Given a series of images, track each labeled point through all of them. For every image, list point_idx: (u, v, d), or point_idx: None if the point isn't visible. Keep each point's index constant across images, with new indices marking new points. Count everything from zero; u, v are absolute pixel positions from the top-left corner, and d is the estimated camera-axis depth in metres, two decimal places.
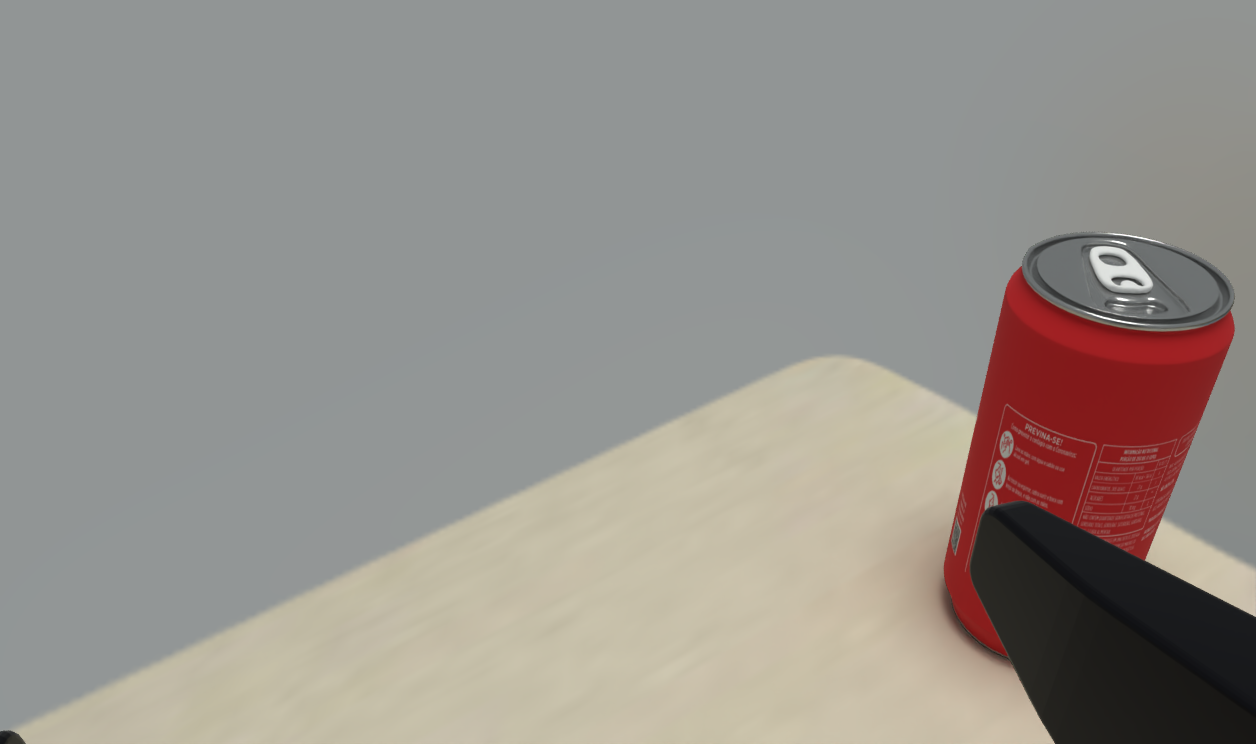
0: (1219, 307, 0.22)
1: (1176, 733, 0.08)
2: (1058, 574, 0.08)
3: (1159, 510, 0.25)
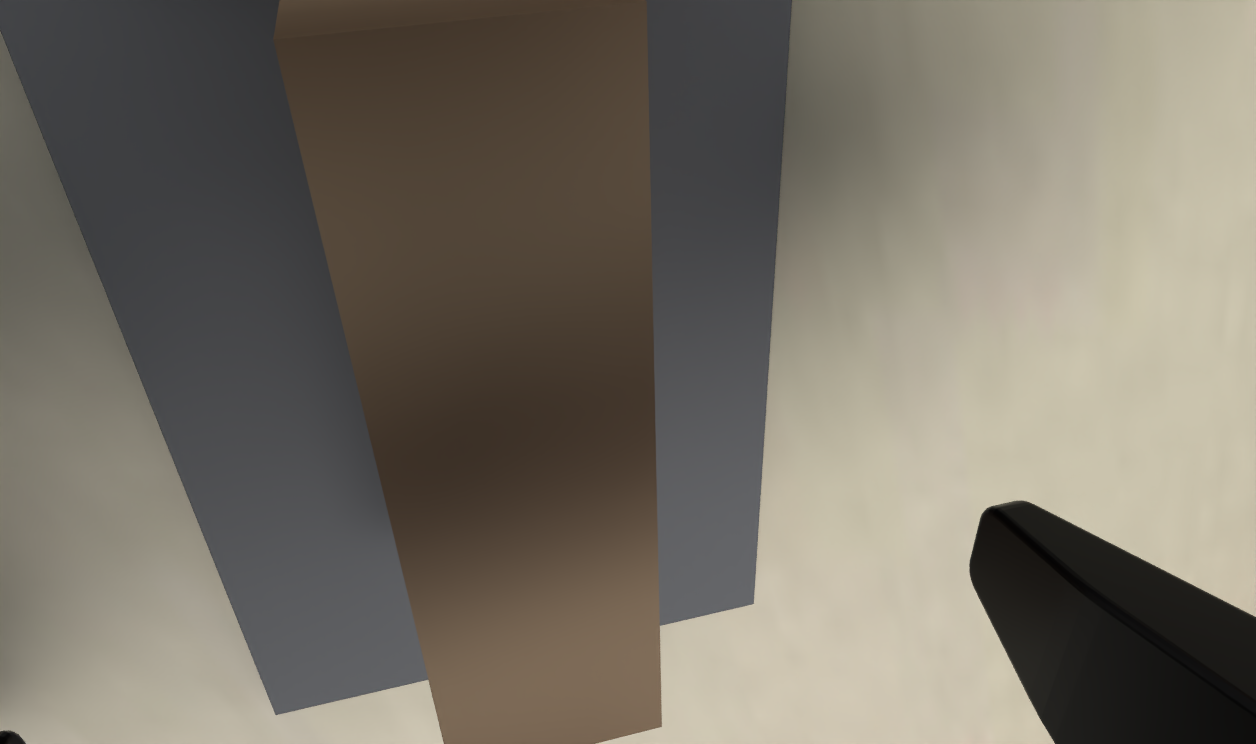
0: None
1: (1176, 733, 0.08)
2: (1058, 574, 0.08)
3: None
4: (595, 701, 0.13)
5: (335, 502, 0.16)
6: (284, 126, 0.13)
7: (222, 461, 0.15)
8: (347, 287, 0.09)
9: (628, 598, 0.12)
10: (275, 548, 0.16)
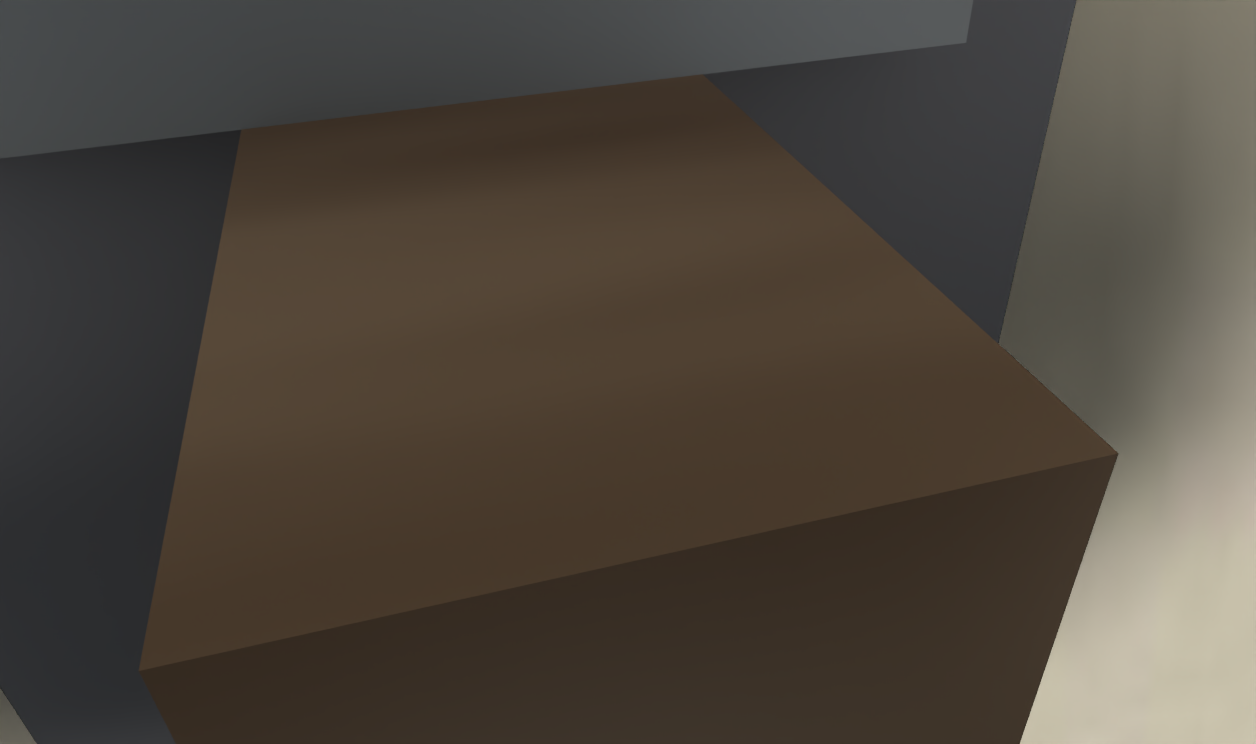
0: None
1: None
2: None
3: None
4: None
5: None
6: None
7: None
8: None
9: None
10: None
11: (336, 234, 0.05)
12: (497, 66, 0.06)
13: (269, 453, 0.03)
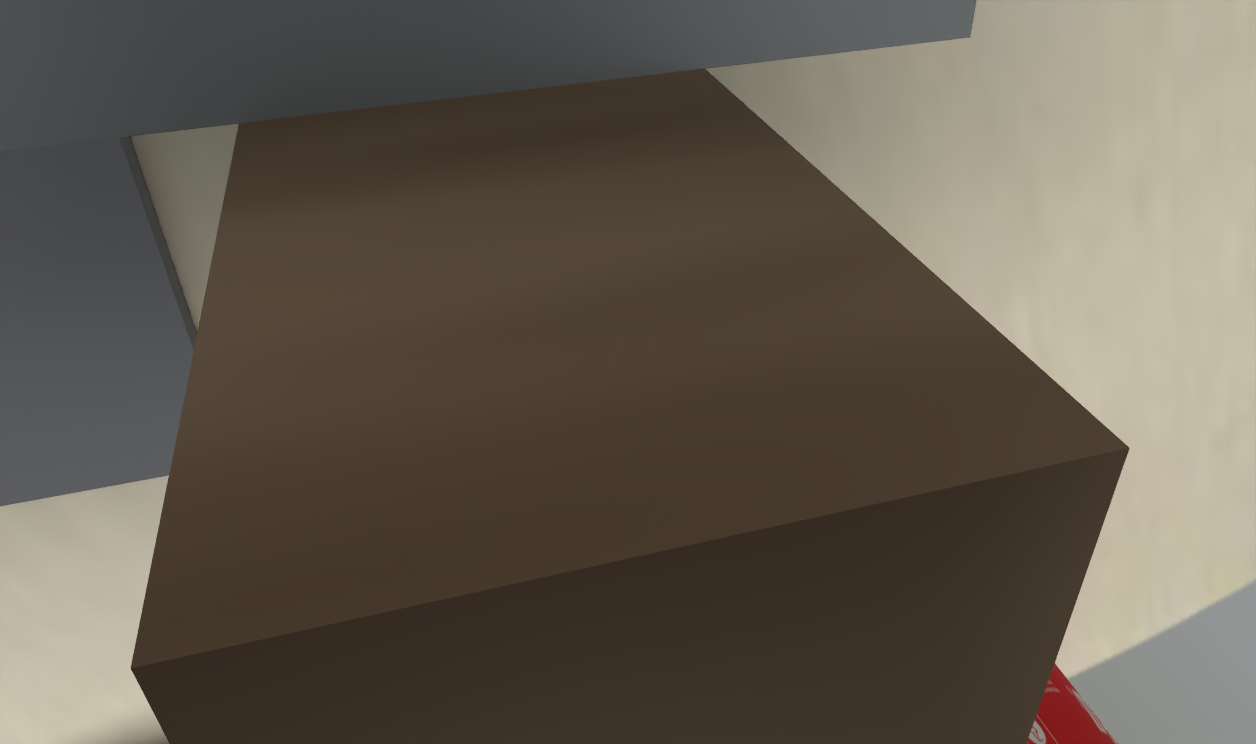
0: None
1: None
2: None
3: None
4: None
5: None
6: None
7: None
8: None
9: None
10: None
11: (334, 226, 0.05)
12: (497, 60, 0.06)
13: (266, 447, 0.03)
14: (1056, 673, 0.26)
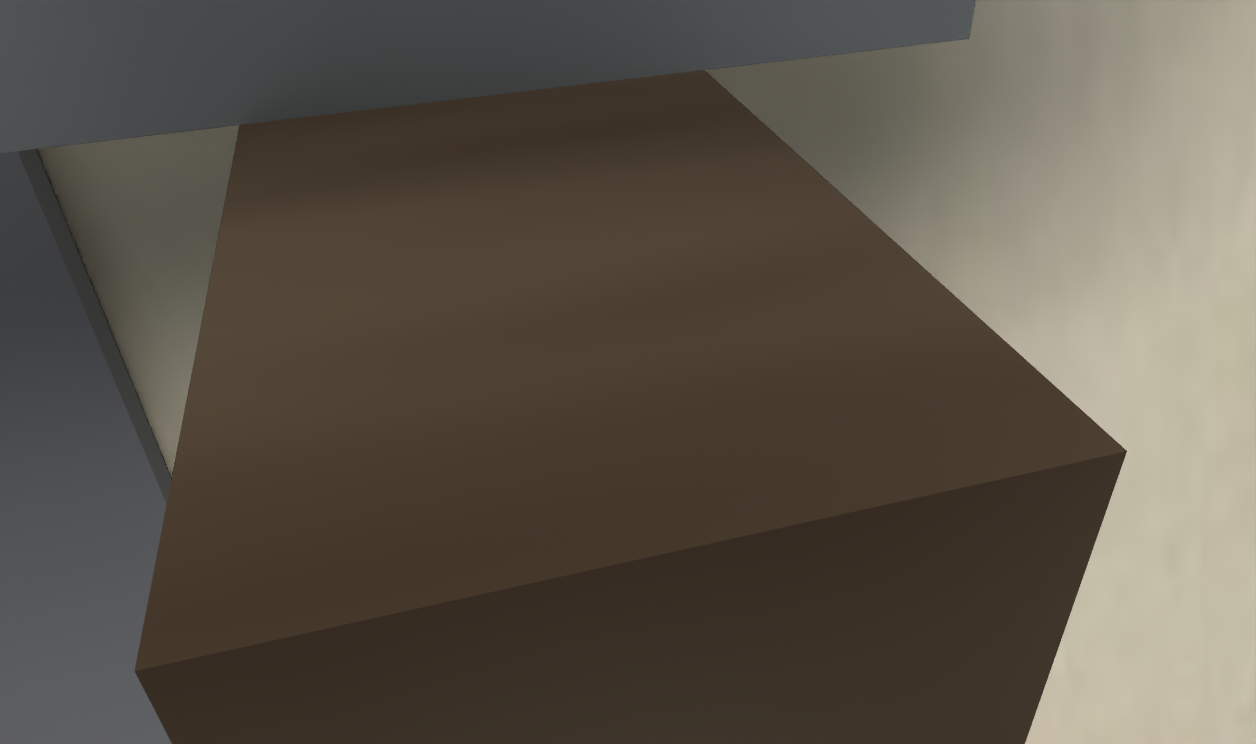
0: None
1: None
2: None
3: None
4: None
5: None
6: None
7: None
8: None
9: None
10: None
11: (334, 231, 0.05)
12: (497, 61, 0.06)
13: (268, 451, 0.03)
14: None
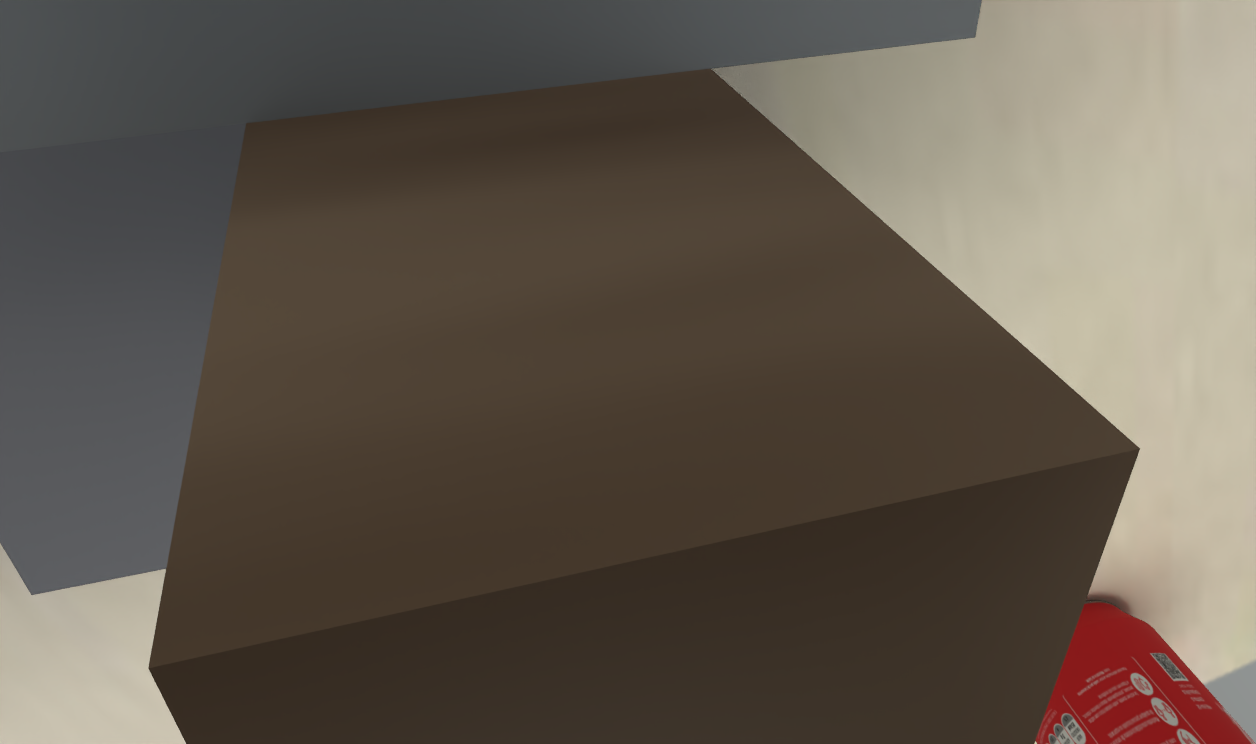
0: None
1: None
2: None
3: None
4: None
5: (47, 383, 0.18)
6: None
7: None
8: None
9: None
10: None
11: (341, 228, 0.05)
12: (504, 60, 0.06)
13: (279, 448, 0.03)
14: (1205, 690, 0.28)
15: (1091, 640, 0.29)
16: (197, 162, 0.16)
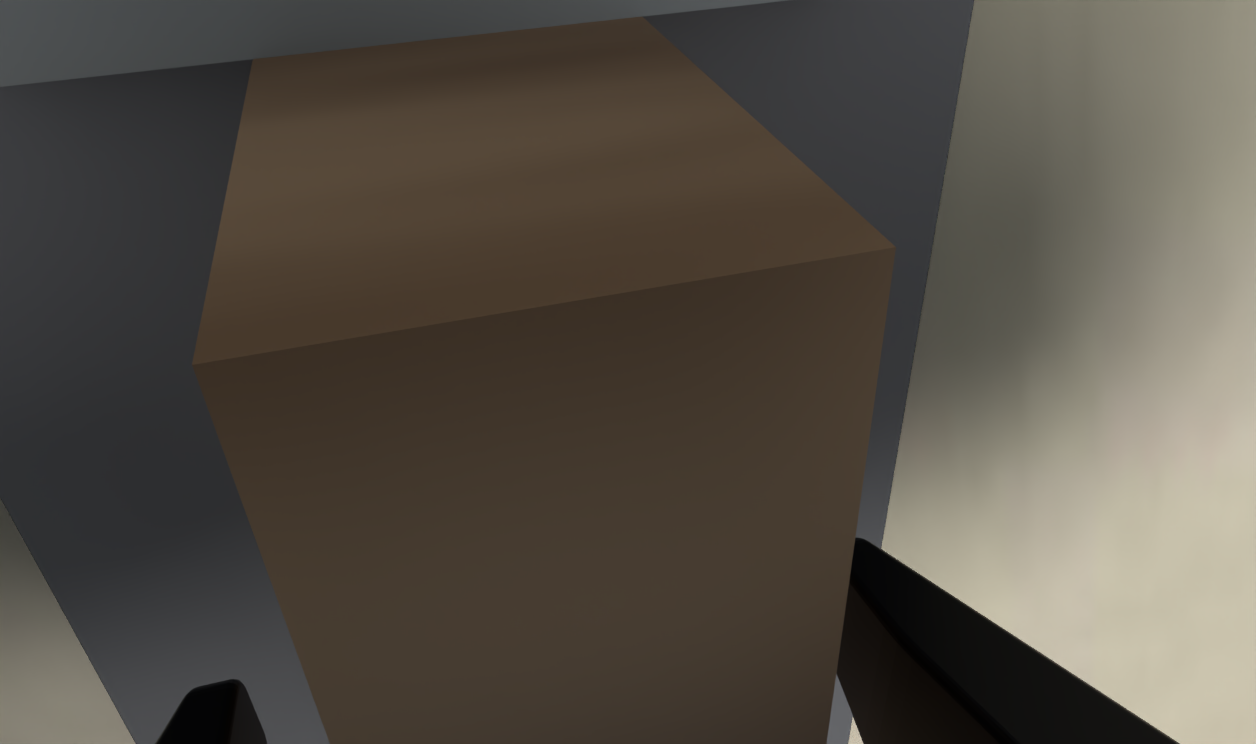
0: None
1: None
2: (877, 619, 0.08)
3: None
4: None
5: None
6: None
7: (180, 701, 0.11)
8: (343, 709, 0.05)
9: None
10: None
11: (329, 128, 0.06)
12: (466, 7, 0.07)
13: (279, 256, 0.04)
14: None
15: None
16: None
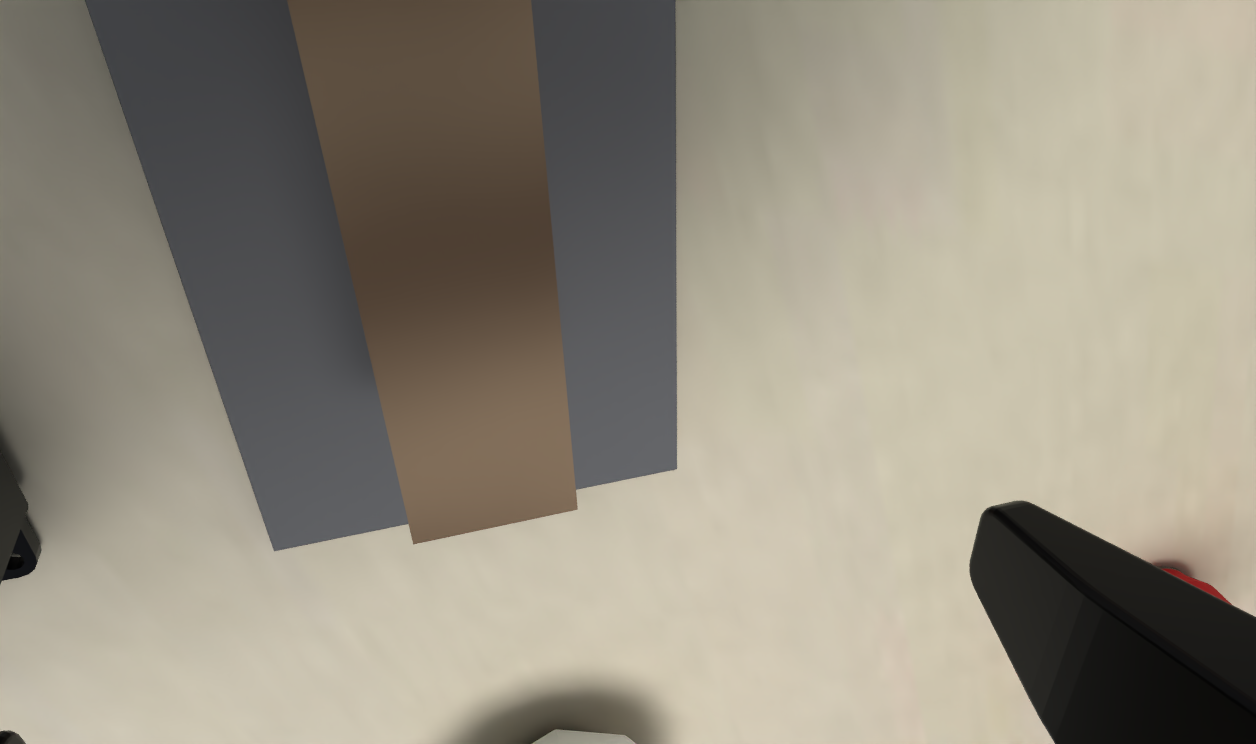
0: None
1: (1176, 733, 0.08)
2: (1058, 574, 0.08)
3: None
4: (522, 481, 0.17)
5: (322, 358, 0.20)
6: (281, 37, 0.16)
7: (232, 317, 0.19)
8: (324, 119, 0.12)
9: (542, 388, 0.16)
10: (273, 397, 0.20)
11: None
12: None
13: None
14: None
15: None
16: None
